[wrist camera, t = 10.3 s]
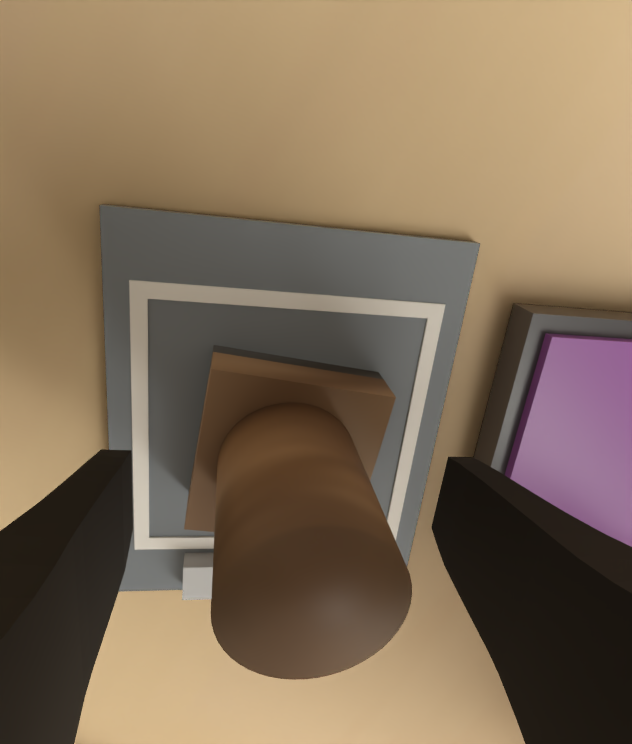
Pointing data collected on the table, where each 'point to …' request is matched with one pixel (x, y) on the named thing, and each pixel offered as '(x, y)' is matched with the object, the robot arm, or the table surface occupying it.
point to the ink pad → (566, 412)
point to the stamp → (296, 514)
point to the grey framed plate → (265, 351)
